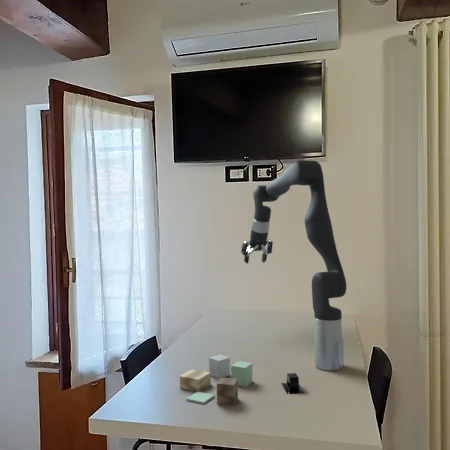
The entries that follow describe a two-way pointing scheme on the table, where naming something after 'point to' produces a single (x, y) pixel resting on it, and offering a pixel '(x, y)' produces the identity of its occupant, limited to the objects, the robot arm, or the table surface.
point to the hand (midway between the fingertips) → (254, 262)
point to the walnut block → (227, 391)
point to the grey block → (219, 366)
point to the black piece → (292, 384)
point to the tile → (200, 397)
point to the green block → (242, 373)
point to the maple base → (195, 380)
